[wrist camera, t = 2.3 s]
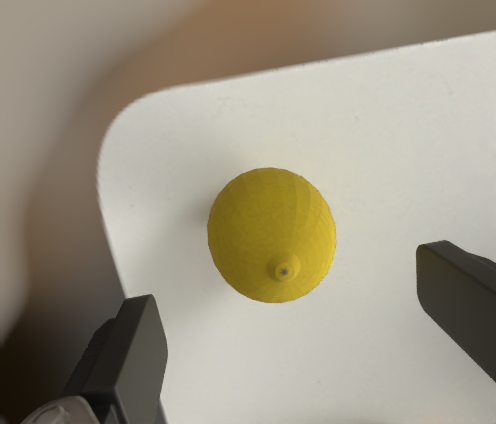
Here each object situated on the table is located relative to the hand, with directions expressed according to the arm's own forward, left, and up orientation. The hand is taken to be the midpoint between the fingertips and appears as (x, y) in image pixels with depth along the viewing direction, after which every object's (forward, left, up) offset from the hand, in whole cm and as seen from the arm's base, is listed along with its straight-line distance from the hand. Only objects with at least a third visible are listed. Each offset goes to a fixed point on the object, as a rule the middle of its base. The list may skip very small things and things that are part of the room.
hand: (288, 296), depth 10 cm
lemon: (0, 0, -10) cm, 10 cm away
